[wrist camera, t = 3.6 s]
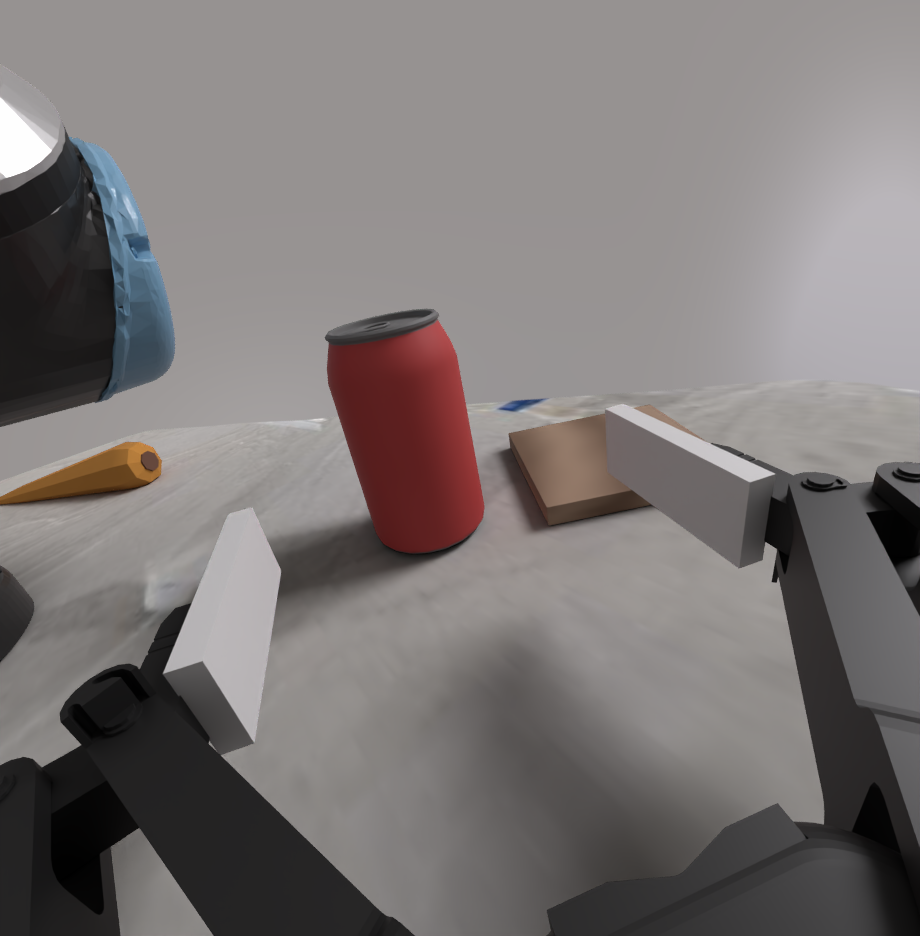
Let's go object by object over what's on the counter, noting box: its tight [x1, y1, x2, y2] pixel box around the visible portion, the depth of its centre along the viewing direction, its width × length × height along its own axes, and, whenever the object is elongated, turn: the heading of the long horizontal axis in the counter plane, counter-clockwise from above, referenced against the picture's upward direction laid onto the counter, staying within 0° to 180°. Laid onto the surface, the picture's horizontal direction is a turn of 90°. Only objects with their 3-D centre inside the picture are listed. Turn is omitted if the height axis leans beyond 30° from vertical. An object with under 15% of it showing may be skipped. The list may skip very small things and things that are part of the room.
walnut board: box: [509, 405, 708, 526], centre depth 29 cm, size 11×11×1 cm
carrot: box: [0, 442, 162, 505], centre depth 43 cm, size 20×4×4 cm, turn 88°
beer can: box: [325, 309, 484, 554], centre depth 24 cm, size 7×7×12 cm
